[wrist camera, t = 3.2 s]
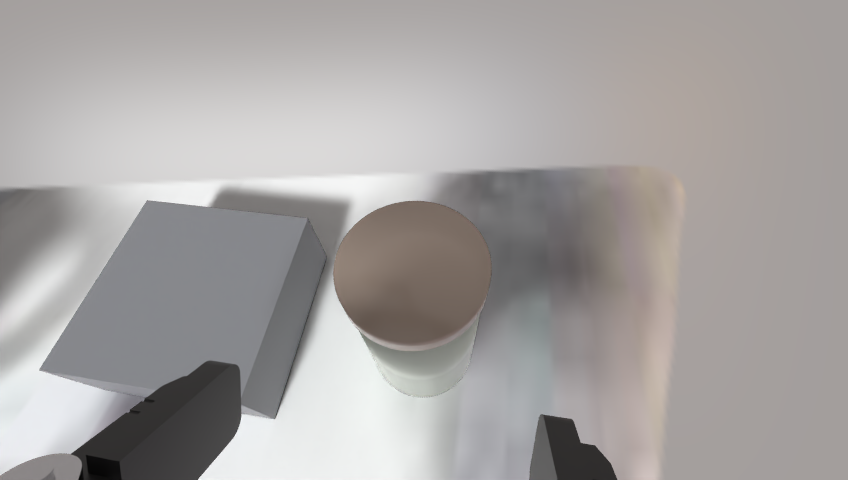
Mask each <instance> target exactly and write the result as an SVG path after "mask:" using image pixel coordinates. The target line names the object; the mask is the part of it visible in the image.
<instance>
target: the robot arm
mask: <svg viewBox="0 0 848 480" xmlns="http://www.w3.org/2000/svg"><path fill="white" fill-rule="evenodd" d="M240 420H241V380H240V369H239V367H238V365H236V364H230V363H224V362H218V361H212V360H209V361H206V362H204V363H203V364H202V365H200V366H199V367H198V368H197V369H195V370H194V371H193V372H191V373H190V374H189V375H188V376H183V377H181V378H178V379H176V380H174V381H172V382H169V383H167V384H165V385H163V386H161V387H160V388H159V389H157V390H156V391H155V392H153V393H152V394H151V395H149V396H148V397H147V398H145V400H144V402H142V401H141V402H140V403H138V404H137V405H136V406H134V407H133V408H132V409H130V412H129V413H125V414H124V415H122V416H121V417H120V418H118V419H117V420H116V421H114V422H113V423H112V424H110V425H109V426H108V427H106V428H105V429H104V430H102V431H101V432H100V433H98V434H97V435H96V436H94V437H93V438H92V439H90V440H89V441H88V442H86V443H85V444H84V445H82V446H81V447H80V448H78V449H77V450H76V451H74V452H73V453H72V454H51V455H46V456H42V457H38V458H35V459H32V460H29V461H27V462H25V463H22V464H20V465H18V466H16V467H14V468H12V469H10V470H9V471H7V472H5V473H4V474H2V475H1V476H0V480H198V479H199V477H200V476H201V475H202V474H203V473H204V472H205V470H206V469H207V468H208V467H209V466H210V465H211V463H212V462H213V461H214V460H215V459H216V458H217V456H218V455H219V454H220V453H221V452H222V451H223V449H224V448H225V447H226V446H227V445H228V443H229V442H230V441H231V440H232V439H233V437H234V436H235V434H236V432H237V430H238V427H239V424H240ZM529 480H617V478H616V475H615V473H614V470H613V468H612V465H611V463H610V462H609V461H608V460H607V459H606V458H605V456H604V455H603V454H602V453H601V452H600V451H599V450H598V448H597V447H596V446H595V445H589V444H583V443H580V439H579V436H578V433H577V430H576V427H575V424H574V422H573V420H572V419H567V418H561V417H555V416H549V415H542V414H541V415H540V417H539V420H538V426H537V431H536V437H535V443H534V449H533V454H532V460H531V466H530V478H529Z"/></svg>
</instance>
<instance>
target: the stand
mask: <svg viewBox="0 0 848 480" xmlns="http://www.w3.org/2000/svg"><path fill="white" fill-rule="evenodd" d="M326 258H327V256H326V254H325V252H324V250H323V248H322V246H321V244H320V242H319V240H318V238H317V236H316V234H315V232H314V229H313V227H312V225H311V223H310V221H309V219H308V218H302V217H293V216H284V215H275V214H266V213H257V212H248V211H239V210H230V209H221V208H212V207H203V206H194V205H185V204H175V203H166V202H157V201H148V200H147V202H146V203H145V205H144V206H143V208H142V209H141V211H140V212H139V214H138V216H137V217H136V219H135V220H134V222H133V223H132V225H131V227H130V228H129V230H128V231H127V233H126V234H125V236H124V238H123V239H122V241H121V242H120V244H119V245H118V247H117V249H116V250H115V252H114V253H113V255H112V256H111V258H110V260H109V261H108V263H107V264H106V266H105V267H104V269H103V270H102V272H101V274H100V275H99V277H98V278H97V280H96V281H95V283H94V285H93V286H92V288H91V289H90V291H89V292H88V294H87V296H86V297H85V299H84V300H83V302H82V303H81V305H80V307H79V308H78V310H77V311H76V313H75V314H74V316H73V318H72V319H71V321H70V322H69V324H68V325H67V327H66V328H65V330H64V332H63V333H62V335H61V336H60V338H59V339H58V341H57V343H56V344H55V346H54V347H53V349H52V350H51V352H50V354H49V355H48V357H47V358H46V360H45V361H44V363H43V365H42V366H41V368H40V369H39V370H40V371H43V372H47V373H50V374H53V375H57V376H60V377H63V378H67V379H70V380H74V381H77V382H80V383H84V384H87V385H90V386H94V387H97V388H100V389H104V390H108V391H114V392H120V393H125V394H131V395H137V396H143V397H148V396H149V395H151V394H152V393H153V392H155V391H156V390H157V389H159V388H160V387H161V386H163V385H165V384H167V383H169V382H172V381H174V380H176V379H178V378H181V377H183V376H188V375H189V374H190V373H191V372H193V371H194V370H195V369H197V368H198V367H199V366H200V365H202V364H203V363H204V362H206V361H209V360H212V361H218V362H224V363H230V364H236V365H238V367H239V369H240V380H241V413H242V414H248V415H254V416H260V417H265V418H271V419H275V417H276V414H277V410H278V407H279V404H280V401H281V398H282V395H283V392H284V389H285V386H286V382H287V379H288V376H289V373H290V370H291V367H292V364H293V361H294V358H295V354H296V351H297V348H298V345H299V342H300V339H301V336H302V333H303V330H304V326H305V323H306V320H307V317H308V314H309V311H310V308H311V305H312V302H313V298H314V295H315V292H316V289H317V286H318V283H319V280H320V277H321V274H322V270H323V267H324V264H325V261H326Z"/></svg>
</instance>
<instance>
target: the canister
mask: <svg viewBox="0 0 848 480" xmlns="http://www.w3.org/2000/svg"><path fill="white" fill-rule="evenodd" d="M333 276H334V285H335V290H336V293H337V296H338V298H339V301H340V303H341V304H342V306H343V308H344V310H345V312H346V314H347V315H348V317H349V319H350V321H351V322H352V323H353V324H354V326H355V327H356V328H357V329H358V330H359V332H360V334H361V336H362V338H363V339H364V341H365V343H366V345H367V347H368V349H369V351H370V353H371V355H372V357H373V358H374V360H375V362H376V364H377V366H378V368H379V370H380V372H381V373H382V375H383V377H384V378H385V379H386V381H387V382H388V383H389V384H390V385H391V386H392V387H394V388H395V389H396V390H398V391H400V392H402V393H404V394H407V395H410V396H414V397H432V396H436V395H439V394H442V393H444V392H446V391H448V390H449V389H451V388H452V387H454V386H455V385H456V384H457V383H458V382H459V381H460V380H461V378H462V377H463V376H464V374H465V372H466V371H467V368H468V366H469V363H470V360H471V355H472V350H473V346H474V341H475V336H476V331H477V327H478V322H479V317H480V313H481V311H482V309H483V307H484V304H485V301H486V298H487V294H488V290H489V285H490V280H491V257H490V253H489V250H488V246H487V244H486V242H485V240H484V238H483V236H482V235H481V233H480V232H479V230H478V229H477V228H476V227H475V226H474V225H473V224H472V223H471V222H470V221H469V220H468V219H467V218H466V217H464V216H463V215H461V214H460V213H458V212H456V211H454V210H453V209H451V208H448V207H446V206H443V205H440V204H436V203H431V202H425V201H405V202H399V203H394V204H391V205H387V206H385V207H382V208H379V209H377V210H375V211H373V212H372V213H370V214H368V215H367V216H365V217H364V218H362V219H361V220H360V221H359V222H358V223H356V224H355V225H354V226H353V228H352V229H351V230H350V231H349V232H348V233H347V235H346V236H345V238H344V239H343V241H342V243H341V245H340V246H339V249H338V251H337V254H336V258H335V262H334V271H333Z"/></svg>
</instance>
